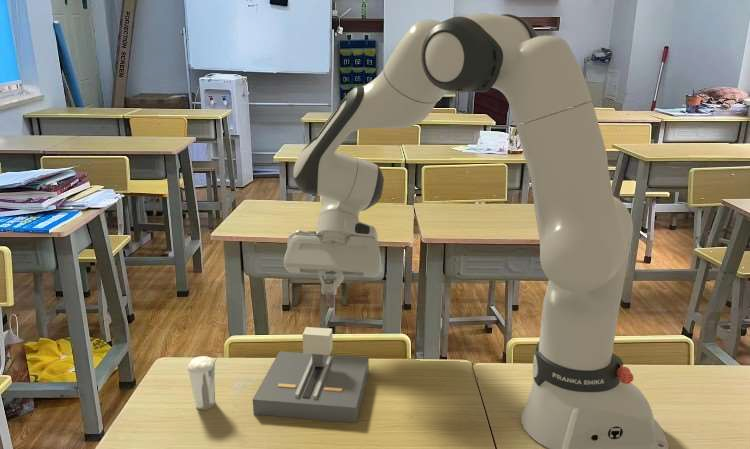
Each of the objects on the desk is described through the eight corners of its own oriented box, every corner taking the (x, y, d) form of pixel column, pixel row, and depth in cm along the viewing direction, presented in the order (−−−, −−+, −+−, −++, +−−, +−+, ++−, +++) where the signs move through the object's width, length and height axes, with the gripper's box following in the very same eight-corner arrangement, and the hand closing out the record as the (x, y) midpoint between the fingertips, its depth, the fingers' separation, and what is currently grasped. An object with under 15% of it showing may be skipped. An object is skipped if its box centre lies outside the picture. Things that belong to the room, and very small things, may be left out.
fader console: (368, 370, 108) (368, 354, 107) (356, 422, 92) (355, 404, 91) (280, 364, 110) (279, 348, 109) (253, 414, 95) (252, 396, 93)
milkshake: (215, 414, 94) (210, 364, 91) (187, 410, 95) (181, 360, 92) (227, 399, 99) (223, 350, 96) (200, 395, 100) (195, 347, 97)
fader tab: (332, 361, 104) (332, 328, 102) (330, 369, 102) (329, 335, 100) (307, 359, 105) (306, 327, 103) (303, 367, 102) (302, 334, 100)
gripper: (286, 223, 115) (274, 285, 108) (382, 228, 112) (376, 291, 106) (292, 236, 120) (282, 296, 114) (384, 241, 118) (379, 302, 112)
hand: (328, 293), depth 110 cm, fingers closed
